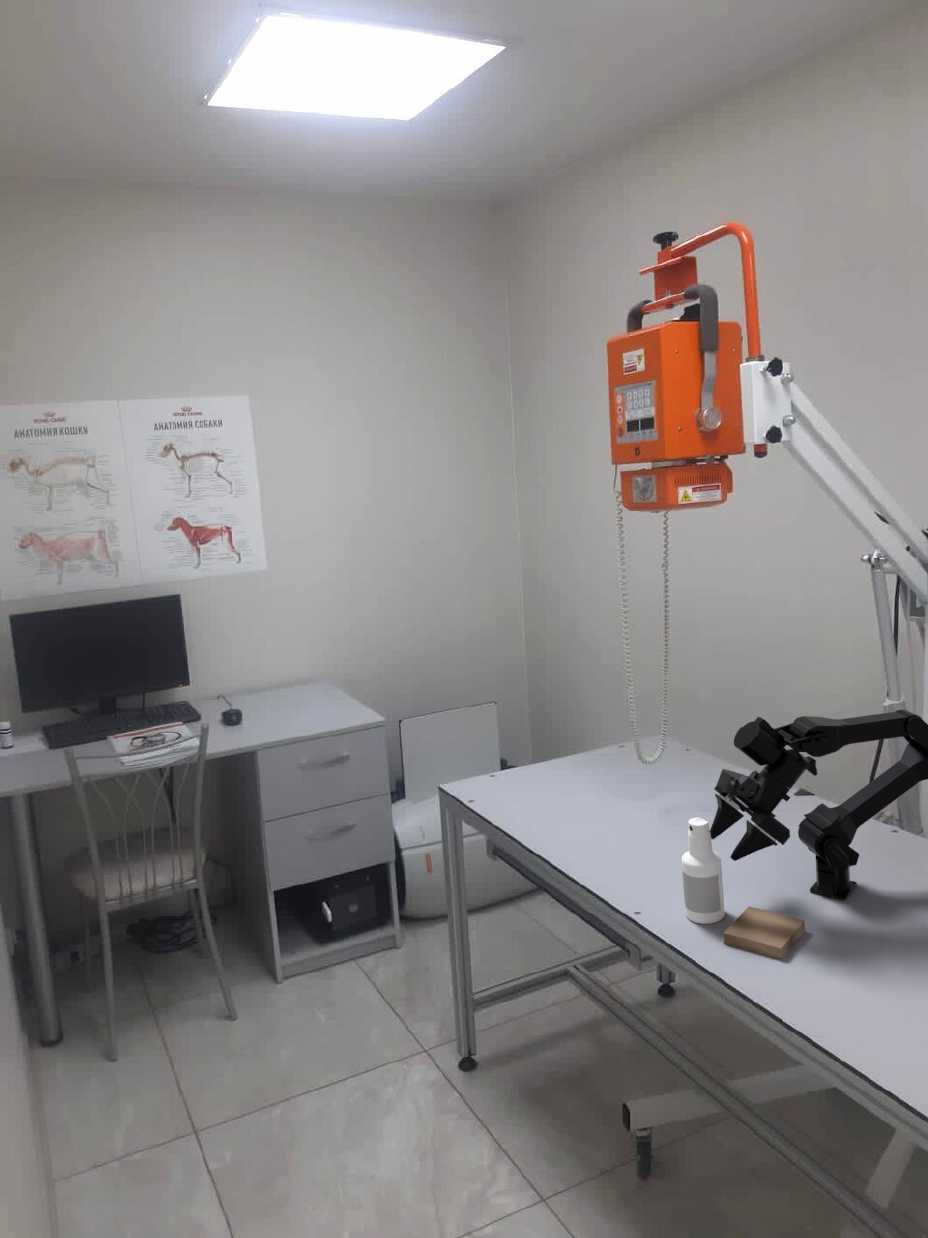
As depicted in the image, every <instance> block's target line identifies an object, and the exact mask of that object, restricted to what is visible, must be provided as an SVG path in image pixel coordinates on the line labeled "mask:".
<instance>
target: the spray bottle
mask: <svg viewBox="0 0 928 1238" xmlns="http://www.w3.org/2000/svg"><path fill="white" fill-rule="evenodd" d="M687 838H688V839H687V840H688V845H687V846H688V851H686V852H684V854H683V855H682V856H681V861H680V862H681V871H682V887H683V897H684V898H683V899H684V910H685V916H686V918H687V919H688V920H690V921H691V922H694V923H697V924H701V925H707V924H708V925H710V924H716V923H718V922H720V921H721V920H722V919H724V917H725V913H726V912H725V897H724V895H725V894H724V883H723V869H722V868H723V867H722V859H721V856H720V854H719V853H717V852H716V851H715V850H713V844H712V839H711V833H710V825H709V821H707V820H705V819H703V818H702V817H692V818H690V819H689V820H688V832H687Z"/></svg>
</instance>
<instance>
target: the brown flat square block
mask: <svg viewBox="0 0 928 1238" xmlns="http://www.w3.org/2000/svg"><path fill="white" fill-rule="evenodd" d="M805 932H806V921H805V920H804V919H800V918H797V917H794V916H790V915H785V914H781V913H777V912H772V911H769V910H765V909H761V908H756V907H753V906H747V908H745V910H744V911H743V912H741V914H740V915H739V916H738V917H737V918H736V919H735V920H734V921H732V923H731V924H730V925H729V926H728V927H727V928H726V930H724V932H723V943H724V945H728V946H731V947H735V948H740V949H742V950H746V951H750V952H753V953H757V954H761V955H764V956H767V957H770V958H771V957H772V958H775V959H779V960H781V961H782V960H783V959H784V957H785V956H786V955H787V954H788V953H789V951H790V950H791V949H792V948H793V946H794V945H795V944H796V943H797V941H798V940H799V939H800V938H801V937H802V936H803V934H804V933H805Z"/></svg>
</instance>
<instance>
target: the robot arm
mask: <svg viewBox="0 0 928 1238" xmlns="http://www.w3.org/2000/svg"><path fill="white" fill-rule="evenodd" d="M901 737H902V738H903V739H904V740H905V742H907V744H906V746H905V748H904V751H903V753H902V755H901V757H900V760H898V761H897V762H895V763H894V764H893V765H892V766H890V767H889V768H888V769H886V770H885V771H883V772H882V773H881V774H880V775H878V776H877V777H875V778H874V779H873V780H872V781H870V782H869V783H868V784H866V785H865V786H863V787H862V788H861V789H859V790H858V791H857V792H856V793H854V794H853V795H851V796H850V797H849V798H847V799H846V800H845V801H844V802H842V803H841V804H840V805H837V806H835V807H829V806H827V805H826V804H824V803H820V804H818V805H817V806H816V807H815V809H813V810H812V811H810V812H809V813H806V814H803V816H804V818H803V819H802V820H801V821H800V822H799V824H798V830H797V831H798V832H797V835H798V839H799V841H801V843H802V844H803V845H805V847H807V849H808V851H810V852H812V853H813V854H814V855H815V873H816V874H815V875H816V880H815V882H814V883H813V884H812V885H811V886H810V888H809V892H811V893H814V894H817V895H822V896H827V897H830V898H836V899H839V900H847V898H848V897H849V896H850V894H851V893H852V892H853V890H855V889H856V887H858V886H857V885H858V883H857V881H854V880H851V877H850V876H851V874H850V871H851V870H850V867H852V866H853V867H854V866H857V864H858V861H859V857H860V853H859V852H857V851H856V850H855V849H853V848H852V847H850V845H851V844H852V842H853V841H854V838H855V835H856V833H857V830H858V829H859V828H860V827H861V826H863V825H864V824H866V823H867V822H868V821H869V820H871V819H872V818H874V816H876V815H877V814H878V813H880V812H881V811H883V810H884V809H885V808H887V807H888V806H889V805H891V804H892V803H893V802H895V801H896V800H897V799H898V798H900V797H902V796H903V795H904V794H905V793H906V792H908V791H910V790H911V789H912V788H913V787H915V786H916V785H917V784H919V783H921V782H922V781H927V780H928V723H927V722H926V721H925V720H924V719H923V718H922V717H921V716H920V715H918V714H916V713H913V712H911V711H909V710H907V709H898V710H895V711H892V712H891V711H890V712H885V713H884V712H883V713H874V714H869V715H860V716H855V717H848V718H841V719H840V718H839V719H838V718H830V717H823V716H811V715H810V716H809V715H807V716H805V715H802V716H798V717H797V718H794V721H793V722H792V723H791V722H790V723H789V724H785V725H781V726H779V727H776V728H773V727H772V726H771V724H770V723H769V722H768V721H766V719H764V718H763V717H760V716H757V717H756V719H755V720H754V721H749V722H747V723H746V724H744V725H743V726H741V727H740V728H739V729H738V730H737V732H736V733H735V734H734V738H733V746H734V747H735V748H736V749H738V750H739V751H740V752H741V753H742V754H743V755H745V756H746V757H747V758H749V759H750V760H752V761H753V762H754V763H755V764H757V765H758V766H760V767H761V766H763V768H762V769H761V770H760V772H758V771H757V770H754V771H751V772H750V774H749V775H745V774H742V773H739V772H736V771H733V770H729V769H725V768H722V769H721V772H720V775H719V777H718V780H717V783H716V786H715V787H714V788H713V789H714V790H715V792H717V793H718V794H717V793H715V795H714V796H715V798H716V804H717V810H716V812H715V817H714V819H713V822H712V823H711V824H712V825H711V827H710V828H709V830H710V833H711V840H715V839H717V838H718V837H719V836H720V835H722V834H723V833H724V832H726V831H727V830H728V829H730V828H731V827H732V826H733V825H735V824H736V823H737V822H739V821H740V820H741V819H742V818H744V817H745V814H743V813H744V812H746V814H748V815H749V816H751V817H750V818H751V819H750V820H751V821H752V822H753V823H754V824H753V823H752V822H750V820H748V819H747V820H746V831H745V833H744V834H743V836H742V837H741V839H740V840H739V842H738V844H737V845H736V846H735V848H734V849H733V851H732V853H731V854H730V859H731V860H733V861H734V862H737V861H739V860H741V859H743V858H745V857H747V856H749V855H751V854H754V853H756V852H758V851H761V850H763V849H767V848H768V847H771V846H776V847H777V846H778V845H779V844H780V845H782V846H784V845H785V844H786V842H787V841H788V840H789V839H790V838H791V831H790V829H789V828H788V827H787V826H785V825H784V824H783V823H782V822H780V821H779V820H778V819H777V818H775V817H776V814H774V813H773V812H774V810H775V809H776V808H777V807H778V806H779V804H780V803H781V802H782V801H783V800H784V801H785V802H788V801H789V800H790V798H791V796H789V795H788V793H789V792H790V790H791V789H792V788H793V787H794V785H795V784H796V783H797V782H798V780H799V779H800V778H801V777H802V775H803V774H804V773H805V771H806V772H808V773H810V774H811V775H812V776H817V775H818V769H817V764H816V763H817V760H816V759H815V758H821V757H824V756H825V757H826V756H827V755H831V754H833V753H834V754H835V753H837V752H838V751H840V750H841V749H842V748H844V747H845V746H849V745H852V744H860V743H867V742H875V741H882V740H888V739H897V738H901ZM786 746H787V747H790V748H791V749H786V748H785V747H786ZM802 753H806V754H808V756H804V755H803V754H802ZM813 757H814V758H813ZM739 810H740V811H739ZM777 842H778V843H779V844H778V843H777Z"/></svg>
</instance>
